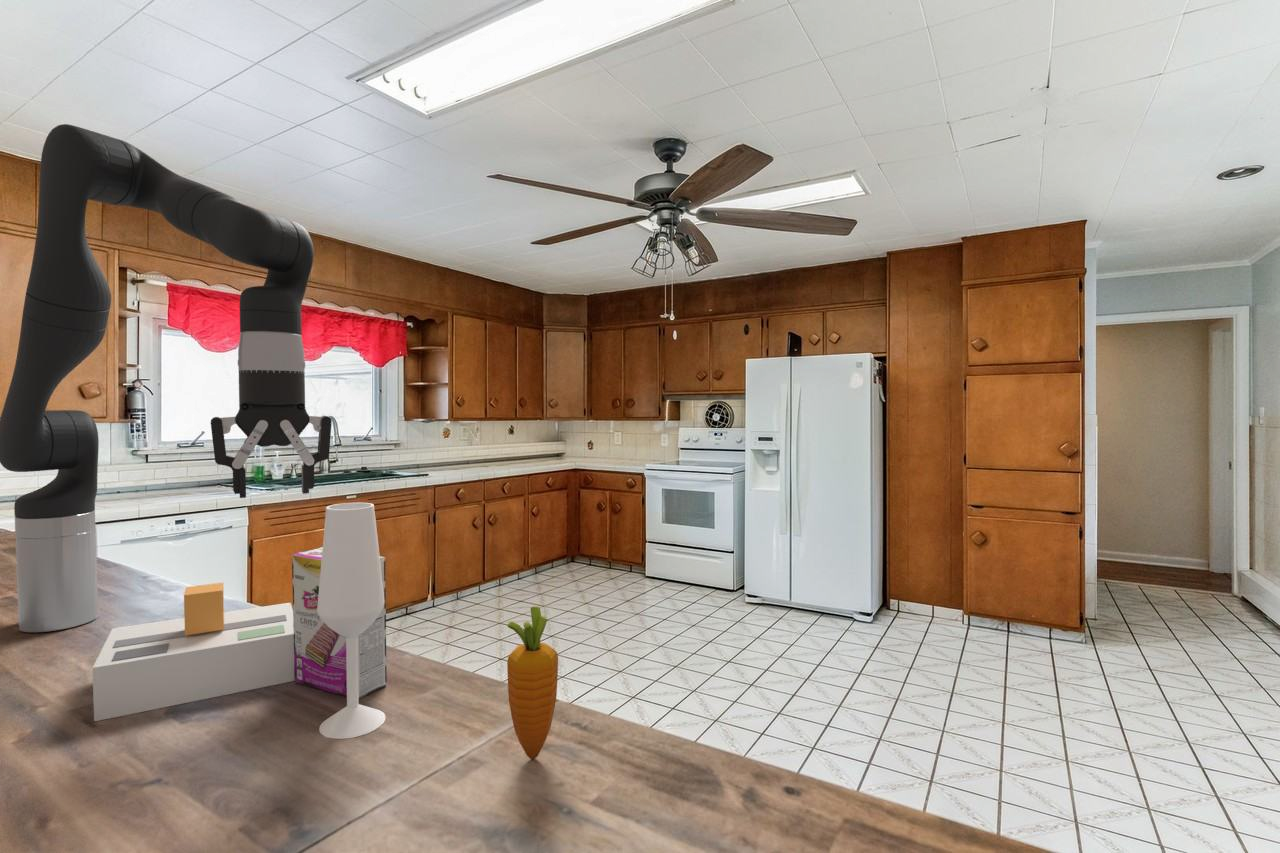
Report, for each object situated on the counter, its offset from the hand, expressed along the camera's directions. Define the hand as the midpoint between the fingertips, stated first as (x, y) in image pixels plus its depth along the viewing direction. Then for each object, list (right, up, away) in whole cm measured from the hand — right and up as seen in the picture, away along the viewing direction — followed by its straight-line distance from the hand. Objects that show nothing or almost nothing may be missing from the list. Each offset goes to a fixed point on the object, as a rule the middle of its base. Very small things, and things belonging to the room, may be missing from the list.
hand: (274, 494), depth 85 cm
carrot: (+38, -24, -21) cm, 50 cm away
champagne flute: (+17, -24, -14) cm, 32 cm away
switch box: (-7, -23, -3) cm, 24 cm away
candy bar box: (+11, -23, -5) cm, 26 cm away
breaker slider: (-7, -17, -3) cm, 18 cm away
